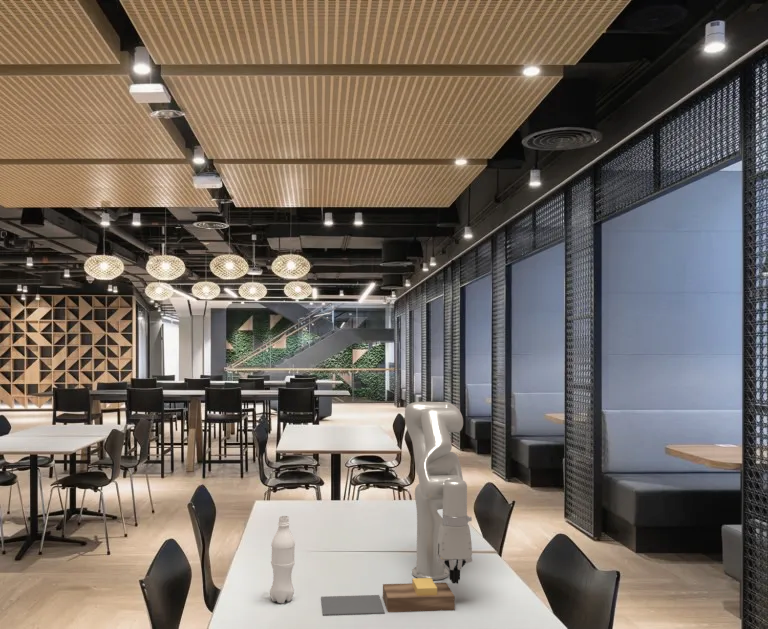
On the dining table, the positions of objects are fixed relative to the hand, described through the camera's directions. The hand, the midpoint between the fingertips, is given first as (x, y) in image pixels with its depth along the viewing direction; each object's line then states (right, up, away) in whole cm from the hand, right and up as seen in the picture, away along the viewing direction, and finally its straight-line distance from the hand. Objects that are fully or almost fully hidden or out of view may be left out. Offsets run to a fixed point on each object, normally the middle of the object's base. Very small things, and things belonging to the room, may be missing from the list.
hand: (454, 582), depth 202 cm
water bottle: (-53, -6, 0) cm, 53 cm away
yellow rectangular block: (-9, -2, -1) cm, 9 cm away
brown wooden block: (-11, -6, -1) cm, 13 cm away
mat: (-31, -6, -4) cm, 32 cm away
